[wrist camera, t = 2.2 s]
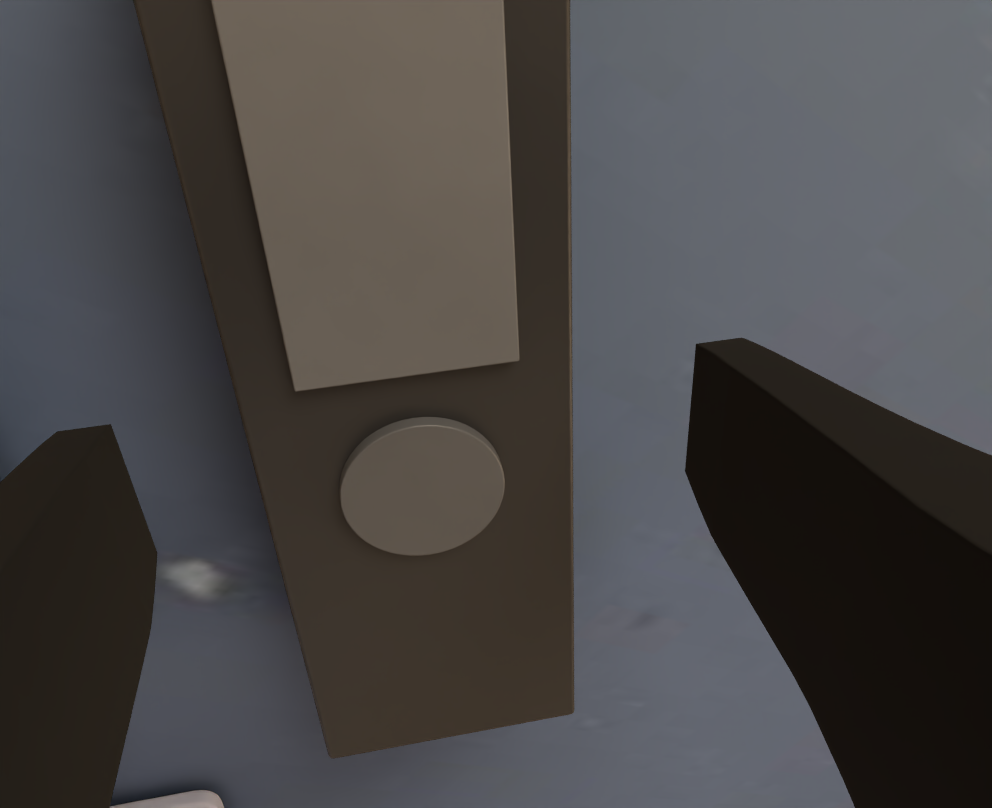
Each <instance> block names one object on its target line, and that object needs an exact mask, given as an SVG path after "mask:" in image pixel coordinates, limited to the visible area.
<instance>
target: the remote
mask: <svg viewBox="0 0 992 808" xmlns="http://www.w3.org/2000/svg"><path fill="white" fill-rule="evenodd" d="M133 1H134V5H135V9H136V13H137V17H138V21H139V24H140V28H141V32H142V36H143V40H144V44H145V48H146V51H147V55H148V59H149V63H150V67H151V71H152V75H153V79H154V82H155V86H156V90H157V94H158V98H159V102H160V106H161V109H162V113H163V117H164V121H165V125H166V129H167V133H168V136H169V140H170V144H171V148H172V152H173V156H174V160H175V164H176V167H177V171H178V175H179V179H180V183H181V187H182V191H183V194H184V198H185V202H186V206H187V210H188V214H189V218H190V221H191V225H192V229H193V233H194V237H195V241H196V245H197V248H198V252H199V256H200V260H201V264H202V268H203V272H204V276H205V279H206V283H207V287H208V291H209V295H210V299H211V303H212V306H213V310H214V314H215V318H216V322H217V326H218V330H219V333H220V337H221V341H222V345H223V349H224V353H225V357H226V361H227V364H228V368H229V372H230V376H231V380H232V384H233V388H234V391H235V395H236V399H237V403H238V407H239V411H240V415H241V418H242V422H243V426H244V430H245V434H246V438H247V442H248V446H249V449H250V453H251V457H252V461H253V465H254V469H255V473H256V476H257V480H258V484H259V488H260V492H261V496H262V500H263V503H264V507H265V511H266V515H267V519H268V523H269V527H270V530H271V534H272V538H273V542H274V546H275V550H276V554H277V558H278V561H279V565H280V569H281V573H282V577H283V581H284V585H285V588H286V592H287V596H288V600H289V604H290V608H291V612H292V615H293V619H294V623H295V627H296V631H297V635H298V639H299V643H300V646H301V650H302V654H303V658H304V662H305V666H306V670H307V673H308V677H309V681H310V685H311V689H312V693H313V697H314V700H315V704H316V708H317V712H318V716H319V720H320V724H321V728H322V731H323V735H324V739H325V743H326V747H327V751H328V755H329V757H330V758H339V757H344V756H349V755H355V754H360V753H365V752H371V751H376V750H381V749H387V748H392V747H398V746H403V745H408V744H414V743H419V742H424V741H430V740H435V739H440V738H446V737H451V736H456V735H462V734H467V733H472V732H478V731H483V730H489V729H494V728H499V727H505V726H510V725H515V724H521V723H526V722H531V721H537V720H542V719H547V718H553V717H558V716H564V715H569V714H572V713H573V712H574V583H573V415H572V246H571V78H570V0H133Z"/></svg>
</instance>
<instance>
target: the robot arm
mask: <svg viewBox="0 0 992 808" xmlns="http://www.w3.org/2000/svg"><path fill="white" fill-rule="evenodd" d="M685 472H686V475H687V477H688V480H689V482H690V485H691V488H692V490H693V493H694V495H695V498H696V500H697V503H698V505H699V508H700V510H701V513H702V515H703V517H704V520H705V522H706V524H707V527H708V529H709V531H710V534H711V536H712V537H713V539H714V541H715V543H716V545H717V546H718V548H719V550H720V552H721V553H722V555H723V557H724V559H725V560H726V562H727V564H728V565H729V567H730V569H731V571H732V572H733V574H734V576H735V577H736V579H737V581H738V583H739V584H740V586H741V588H742V589H743V591H744V593H745V594H746V596H747V598H748V600H749V601H750V603H751V605H752V606H753V608H754V610H755V611H756V613H757V615H758V616H759V618H760V620H761V621H762V623H763V625H764V627H765V628H766V630H767V632H768V633H769V635H770V637H771V638H772V640H773V642H774V643H775V645H776V647H777V648H778V650H779V652H780V654H781V655H782V657H783V659H784V660H785V662H786V664H787V665H788V667H789V669H790V670H791V672H792V674H793V676H794V678H795V679H796V681H797V683H798V685H799V687H800V689H801V691H802V693H803V694H804V696H805V698H806V700H807V702H808V704H809V706H810V708H811V710H812V712H813V714H814V717H815V719H816V721H817V723H818V725H819V727H820V730H821V732H822V734H823V736H824V738H825V741H826V743H827V745H828V747H829V749H830V752H831V754H832V756H833V758H834V760H835V763H836V765H837V767H838V769H839V771H840V774H841V776H842V778H843V780H844V783H845V785H846V787H847V790H848V792H849V794H850V797H851V799H852V801H853V804H854V806H855V808H992V456H991V455H989V454H986V453H984V452H981V451H979V450H976V449H974V448H971V447H969V446H967V445H964V444H962V443H960V442H957V441H955V440H953V439H951V438H948V437H946V436H944V435H942V434H939V433H937V432H935V431H933V430H930V429H928V428H926V427H923V426H921V425H919V424H917V423H914V422H912V421H910V420H908V419H906V418H904V417H902V416H900V415H898V414H895V413H893V412H891V411H889V410H887V409H885V408H883V407H881V406H879V405H877V404H875V403H873V402H871V401H869V400H867V399H865V398H863V397H861V396H859V395H857V394H855V393H853V392H851V391H849V390H847V389H845V388H843V387H841V386H839V385H837V384H835V383H833V382H831V381H830V380H828V379H826V378H824V377H822V376H820V375H818V374H816V373H814V372H812V371H810V370H808V369H806V368H804V367H803V366H801V365H799V364H797V363H795V362H793V361H791V360H789V359H787V358H785V357H783V356H781V355H779V354H777V353H775V352H773V351H771V350H769V349H767V348H765V347H763V346H760V345H758V344H756V343H754V342H751V341H749V340H746V339H744V338H736V339H729V340H721V341H714V342H707V343H699V344H696V351H695V362H694V374H693V386H692V397H691V409H690V421H689V432H688V444H687V456H686V468H685ZM156 564H157V551H156V548H155V545H154V542H153V540H152V537H151V534H150V531H149V529H148V526H147V523H146V520H145V518H144V515H143V512H142V509H141V507H140V504H139V501H138V498H137V496H136V493H135V490H134V487H133V484H132V482H131V479H130V476H129V473H128V471H127V468H126V465H125V462H124V460H123V457H122V454H121V451H120V449H119V446H118V443H117V440H116V438H115V435H114V432H113V429H112V426H111V424H109V425H102V426H94V427H87V428H80V429H73V430H65V431H58V432H56V433H55V434H54V435H52V436H51V437H50V438H49V439H47V440H46V441H45V442H44V443H43V444H41V445H40V446H39V447H38V448H37V449H36V450H35V451H34V452H32V453H31V454H30V455H29V456H28V457H27V458H26V459H25V460H24V461H23V462H22V463H21V464H19V465H18V466H17V467H16V468H15V469H14V470H13V471H12V472H11V473H10V474H9V475H8V476H7V477H6V478H5V479H4V480H2V481H1V482H0V808H224V806H223V803H222V801H221V799H220V797H219V796H218V795H217V794H215V793H213V792H211V791H208V790H194V791H189V792H183V793H178V794H173V795H167V796H162V797H157V798H151V799H146V800H141V801H135V802H130V803H125V804H119V805H114V806H110V803H111V798H112V794H113V790H114V786H115V781H116V777H117V773H118V769H119V764H120V760H121V756H122V752H123V747H124V743H125V739H126V735H127V730H128V726H129V722H130V718H131V714H132V709H133V705H134V701H135V697H136V692H137V688H138V684H139V679H140V675H141V670H142V666H143V662H144V657H145V653H146V648H147V644H148V639H149V635H150V630H151V623H152V613H153V603H154V593H155V579H156Z"/></svg>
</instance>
